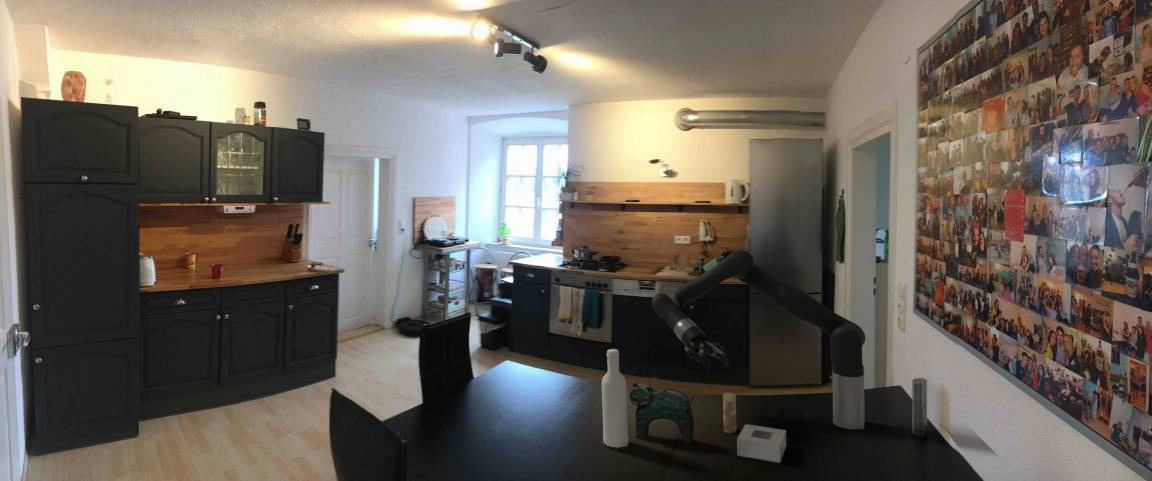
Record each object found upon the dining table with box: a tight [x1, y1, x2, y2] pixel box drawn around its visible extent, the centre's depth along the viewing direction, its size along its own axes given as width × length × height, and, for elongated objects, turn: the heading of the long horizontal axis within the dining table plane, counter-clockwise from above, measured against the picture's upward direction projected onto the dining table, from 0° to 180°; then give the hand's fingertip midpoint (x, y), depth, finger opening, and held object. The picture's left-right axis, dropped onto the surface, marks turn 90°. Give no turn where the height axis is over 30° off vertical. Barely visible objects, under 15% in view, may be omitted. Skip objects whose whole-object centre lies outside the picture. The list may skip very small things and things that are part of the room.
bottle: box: [601, 348, 629, 448], centre depth 175 cm, size 8×8×30 cm
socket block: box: [736, 424, 787, 464], centre depth 167 cm, size 12×12×5 cm
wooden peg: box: [722, 392, 737, 434], centre depth 182 cm, size 4×4×12 cm
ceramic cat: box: [629, 376, 695, 444], centre depth 178 cm, size 20×6×20 cm, turn 70°
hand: (719, 365), depth 181 cm, fingers open, 8 cm apart
